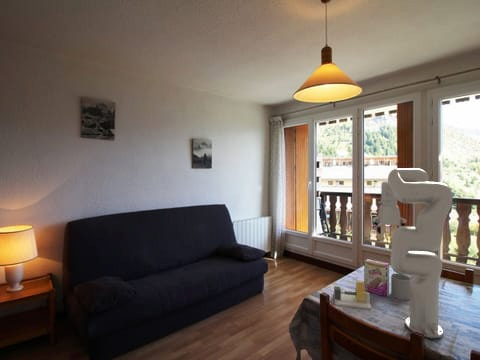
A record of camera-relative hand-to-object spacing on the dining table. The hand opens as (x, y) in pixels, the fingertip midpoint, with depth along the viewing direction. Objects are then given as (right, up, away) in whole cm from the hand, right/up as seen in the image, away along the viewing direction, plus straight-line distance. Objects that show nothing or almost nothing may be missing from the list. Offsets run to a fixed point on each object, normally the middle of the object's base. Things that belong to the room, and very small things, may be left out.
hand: (388, 233), depth 142 cm
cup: (-1, -30, -12) cm, 32 cm away
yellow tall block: (-24, -28, -18) cm, 41 cm away
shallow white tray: (-28, -30, -16) cm, 44 cm away
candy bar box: (-11, -30, -8) cm, 33 cm away
